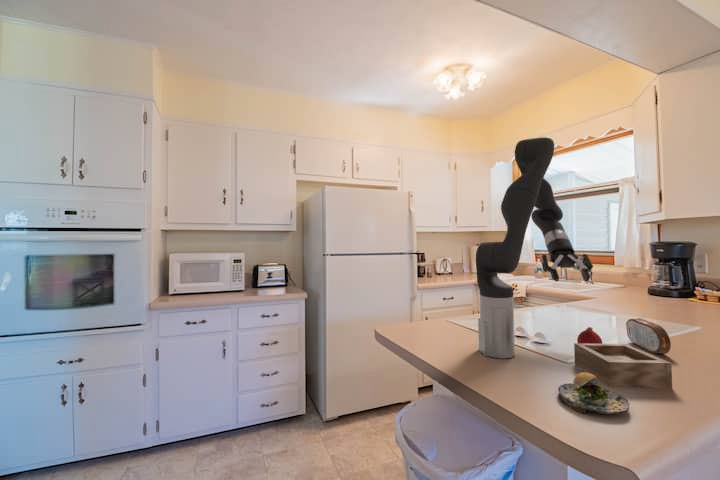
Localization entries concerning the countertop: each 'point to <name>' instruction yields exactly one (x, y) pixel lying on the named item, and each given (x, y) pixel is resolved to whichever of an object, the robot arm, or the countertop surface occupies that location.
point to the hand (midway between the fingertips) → (572, 280)
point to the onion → (589, 337)
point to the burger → (590, 396)
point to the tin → (648, 336)
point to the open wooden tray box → (623, 366)
